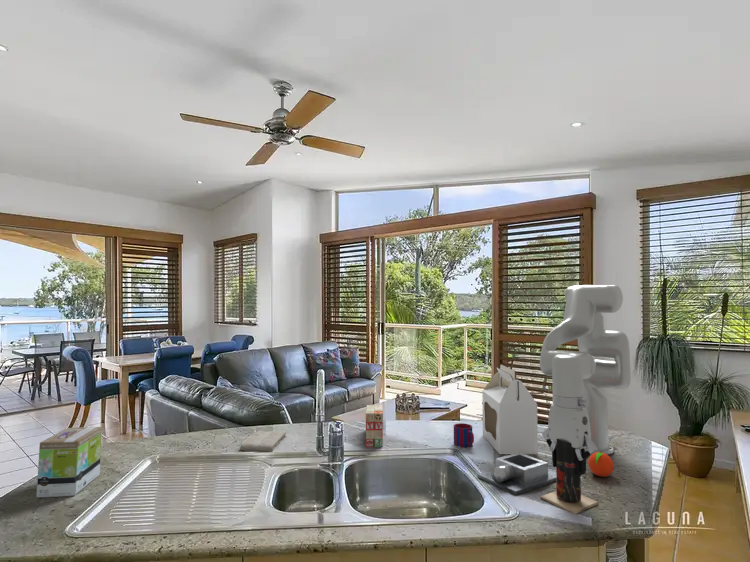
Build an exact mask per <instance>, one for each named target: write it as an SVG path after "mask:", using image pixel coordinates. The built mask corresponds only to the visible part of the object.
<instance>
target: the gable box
mask: <svg viewBox="0 0 750 562" xmlns="http://www.w3.org/2000/svg"><path fill="white" fill-rule="evenodd" d="M495 368H496V370H497V371H496V372H495V373H494V375H493V376H492V378H491V379H490V380H489V382H488V383H487V385H485V387H484V389H483V390H482V393H481V394H482V396H481V397H482V436H483V437H484V438H485V439H486V440H487V441H488V443H489V444H490V445H491V446H492V447H493V448H494V450H495V451H496V452H497V453H498V454H499V455H500V454H514V453H518V452H520V453H522V454H525V455H538V454H539V453H538V452H539V449H538V448H539V446H538V445H539V444H538V442H539V441H538V439H539V437H538V436H539V435H538V403H537V402H536V400H535V399H534V398H533V396H532V394H531V393H530V392H529V390H528V389H527V387H526V385H525V384H524V382H522V380H520V379H517V372H516V370H514V369H512V368H511V367H508V366H506V365H504V364H500V367H498V366H497V367H495Z"/></svg>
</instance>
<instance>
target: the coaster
mask: <svg viewBox="0 0 750 562" xmlns="http://www.w3.org/2000/svg"><path fill="white" fill-rule="evenodd" d="M540 499H541V500H543V501H545V502H548V503H550V504H552V505H554V506H557V507H559V508H561V509H563V510H565V511H568V512H569V513H572V514H575V515H576V514H578V513H580V512H583V511H584V510H587V509H590V508H591V507H595V506H597V505H599V501H597V500H595V499H592V498H590V497H588V496H585V495H583V494H581V500H580V501H578V502H568V501H564V500H561V499H560V498H558V497H557V495H556V490H554V491H551V492H549V493H547V494H543V495H541V496H540Z"/></svg>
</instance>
